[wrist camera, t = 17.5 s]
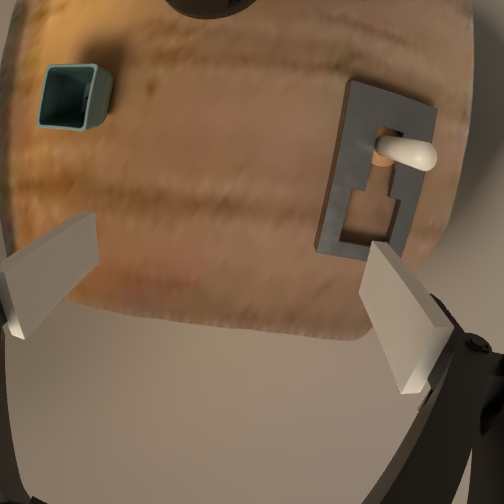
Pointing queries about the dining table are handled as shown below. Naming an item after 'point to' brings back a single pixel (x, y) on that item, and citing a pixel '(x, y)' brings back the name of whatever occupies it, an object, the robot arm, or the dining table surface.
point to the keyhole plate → (359, 161)
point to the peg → (402, 151)
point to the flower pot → (74, 96)
